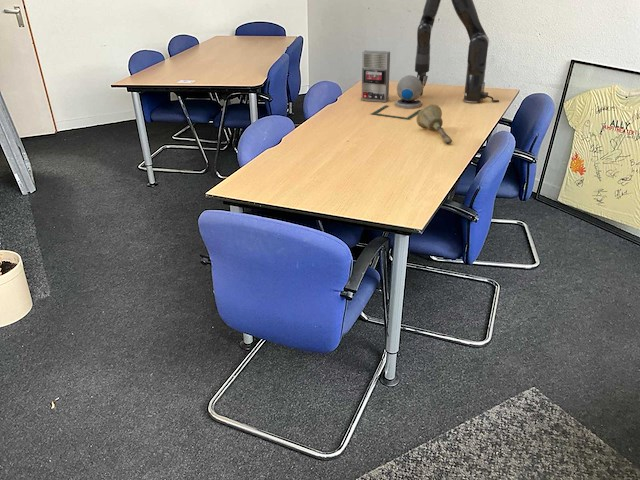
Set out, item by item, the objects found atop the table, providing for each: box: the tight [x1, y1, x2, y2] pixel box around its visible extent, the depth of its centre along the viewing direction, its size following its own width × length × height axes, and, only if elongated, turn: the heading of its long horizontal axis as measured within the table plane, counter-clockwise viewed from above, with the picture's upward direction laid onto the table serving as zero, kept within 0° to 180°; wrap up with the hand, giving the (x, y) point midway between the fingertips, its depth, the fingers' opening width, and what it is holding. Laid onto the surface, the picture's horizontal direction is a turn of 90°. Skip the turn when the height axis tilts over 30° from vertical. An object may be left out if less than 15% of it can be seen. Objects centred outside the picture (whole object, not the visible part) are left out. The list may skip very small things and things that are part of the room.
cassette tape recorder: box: [360, 50, 391, 103], centre depth 282 cm, size 14×6×25 cm, turn 68°
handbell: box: [416, 103, 453, 145], centre depth 231 cm, size 12×12×25 cm
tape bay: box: [371, 105, 421, 120], centre depth 267 cm, size 20×17×1 cm
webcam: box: [395, 74, 422, 109], centre depth 274 cm, size 13×13×15 cm
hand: (420, 95), depth 289 cm, fingers closed
